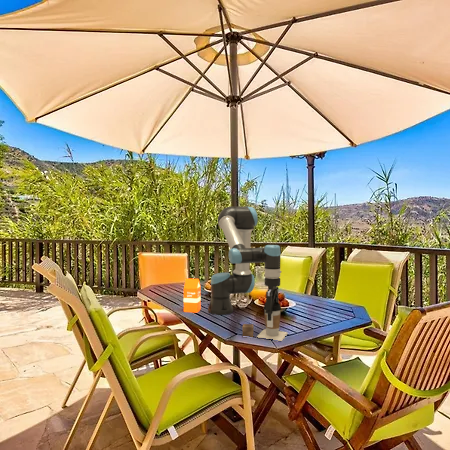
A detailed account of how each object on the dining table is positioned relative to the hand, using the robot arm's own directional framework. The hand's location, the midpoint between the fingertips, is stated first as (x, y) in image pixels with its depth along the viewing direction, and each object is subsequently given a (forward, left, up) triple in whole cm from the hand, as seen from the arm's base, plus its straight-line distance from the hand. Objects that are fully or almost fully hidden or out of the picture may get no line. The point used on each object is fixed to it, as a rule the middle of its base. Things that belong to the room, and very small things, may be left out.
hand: (272, 324), depth 159 cm
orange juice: (-58, +25, -6) cm, 63 cm away
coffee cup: (0, 0, -5) cm, 5 cm away
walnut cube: (-11, -4, -6) cm, 13 cm away
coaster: (0, 0, -6) cm, 6 cm away
